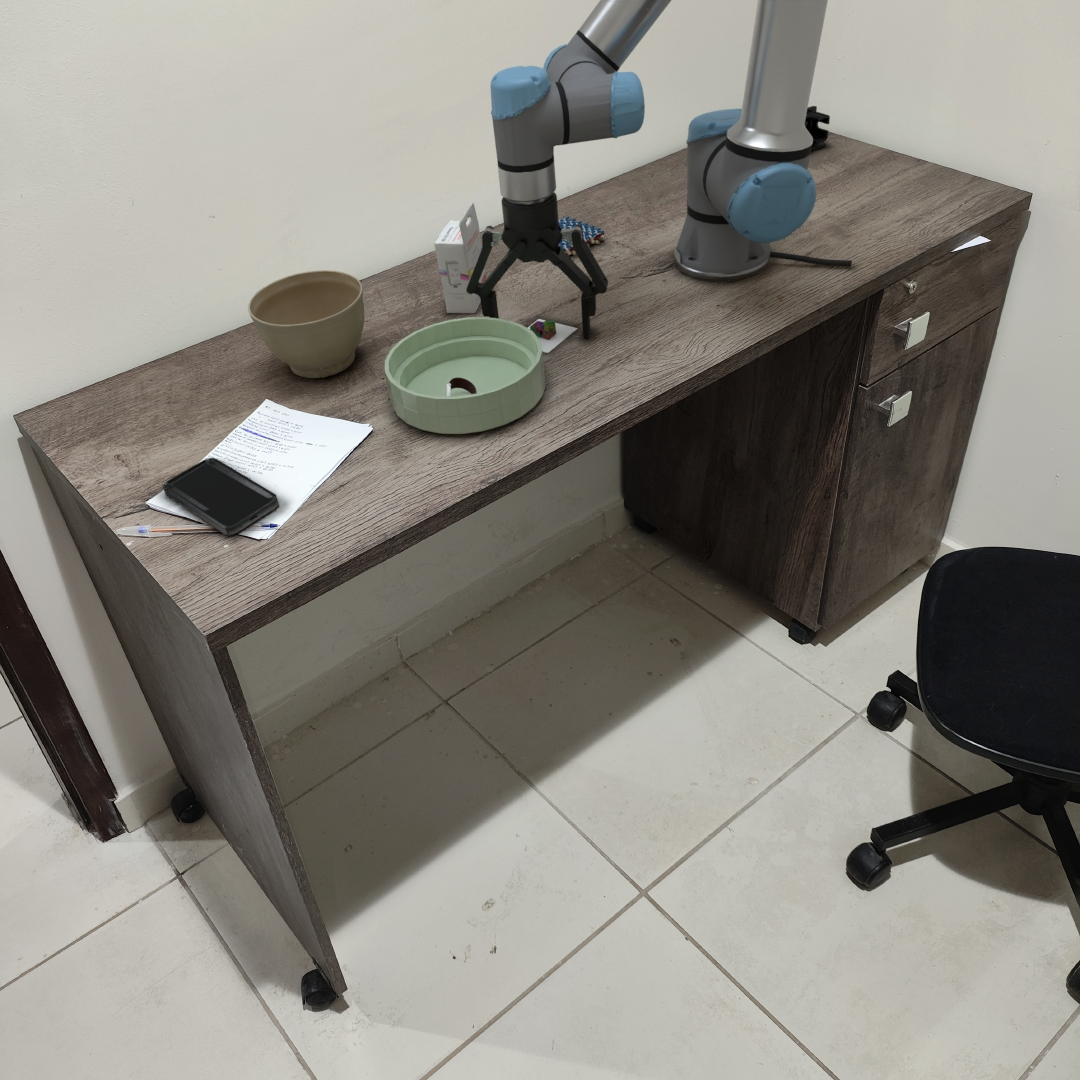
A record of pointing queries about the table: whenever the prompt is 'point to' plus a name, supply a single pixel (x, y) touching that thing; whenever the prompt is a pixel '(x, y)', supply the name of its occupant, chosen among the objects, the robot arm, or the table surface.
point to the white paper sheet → (550, 333)
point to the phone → (221, 496)
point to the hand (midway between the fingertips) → (541, 335)
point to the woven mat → (588, 234)
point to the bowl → (465, 374)
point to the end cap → (816, 127)
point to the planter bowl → (311, 320)
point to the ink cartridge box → (459, 262)
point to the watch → (460, 385)
